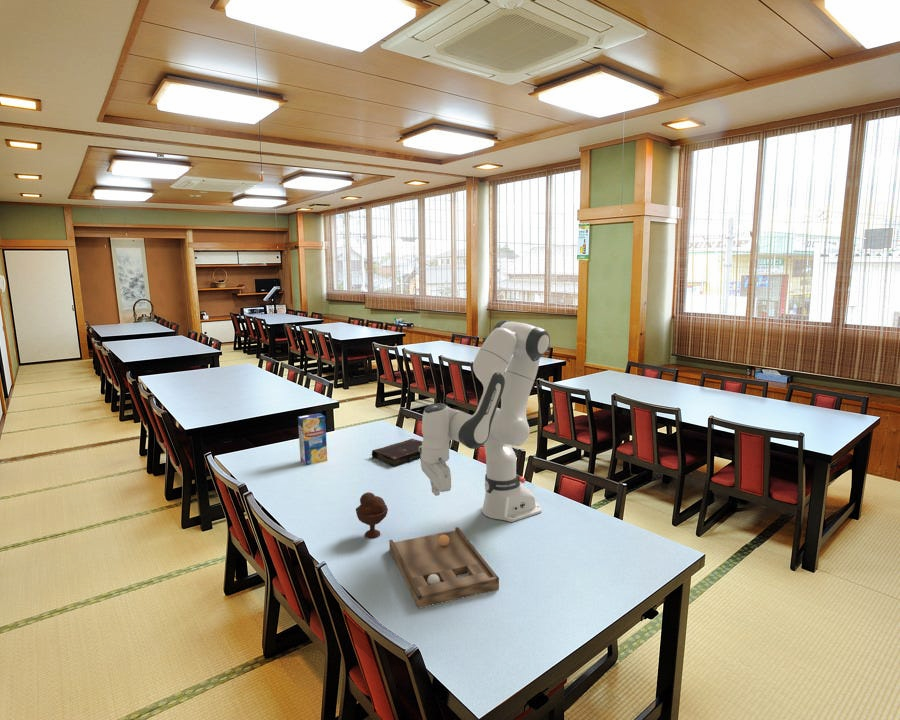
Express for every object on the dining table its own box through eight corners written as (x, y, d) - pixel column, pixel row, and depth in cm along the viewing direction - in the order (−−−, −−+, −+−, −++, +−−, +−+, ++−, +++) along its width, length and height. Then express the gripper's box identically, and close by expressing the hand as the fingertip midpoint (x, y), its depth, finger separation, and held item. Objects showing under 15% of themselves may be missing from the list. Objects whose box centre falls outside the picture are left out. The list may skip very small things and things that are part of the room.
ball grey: (437, 581, 154) (437, 570, 154) (441, 588, 151) (441, 577, 150) (425, 584, 153) (425, 573, 152) (429, 591, 150) (429, 579, 149)
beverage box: (300, 461, 251) (297, 416, 248) (322, 456, 258) (320, 413, 254) (305, 465, 246) (302, 420, 242) (327, 460, 252) (325, 416, 248)
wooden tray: (458, 536, 180) (458, 527, 179) (498, 589, 150) (499, 577, 150) (389, 550, 172) (389, 540, 171) (418, 608, 142) (418, 596, 142)
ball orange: (447, 541, 172) (447, 531, 171) (451, 547, 168) (451, 536, 168) (436, 544, 170) (436, 533, 170) (440, 549, 167) (440, 538, 167)
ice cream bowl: (358, 544, 175) (357, 502, 172) (355, 529, 186) (353, 489, 183) (390, 540, 178) (389, 498, 175) (385, 525, 188) (384, 485, 186)
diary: (371, 459, 256) (371, 449, 255) (411, 446, 273) (411, 437, 272) (395, 468, 243) (394, 458, 242) (435, 455, 260) (435, 445, 259)
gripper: (456, 463, 162) (456, 505, 165) (434, 443, 181) (434, 481, 184) (437, 465, 160) (437, 508, 162) (417, 445, 179) (417, 483, 181)
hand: (435, 493), depth 173 cm, fingers closed
